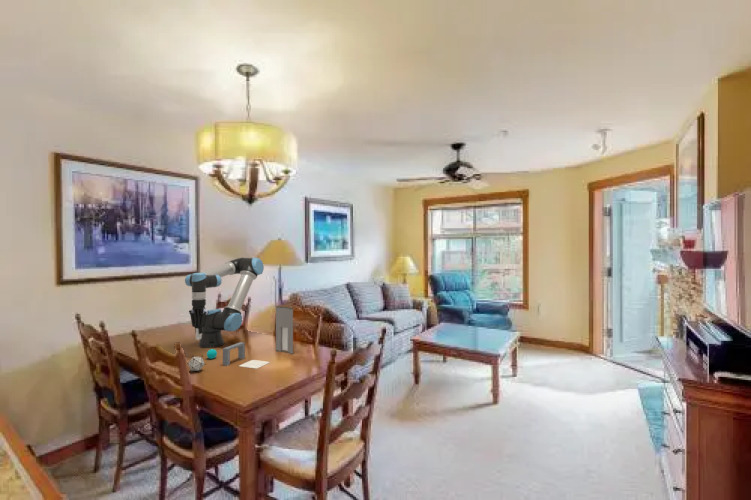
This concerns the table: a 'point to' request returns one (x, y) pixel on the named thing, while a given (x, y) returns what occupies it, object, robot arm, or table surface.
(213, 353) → the ball
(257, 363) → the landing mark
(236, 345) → the bridge
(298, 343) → the table surface
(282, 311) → the cabinet
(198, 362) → the game die
